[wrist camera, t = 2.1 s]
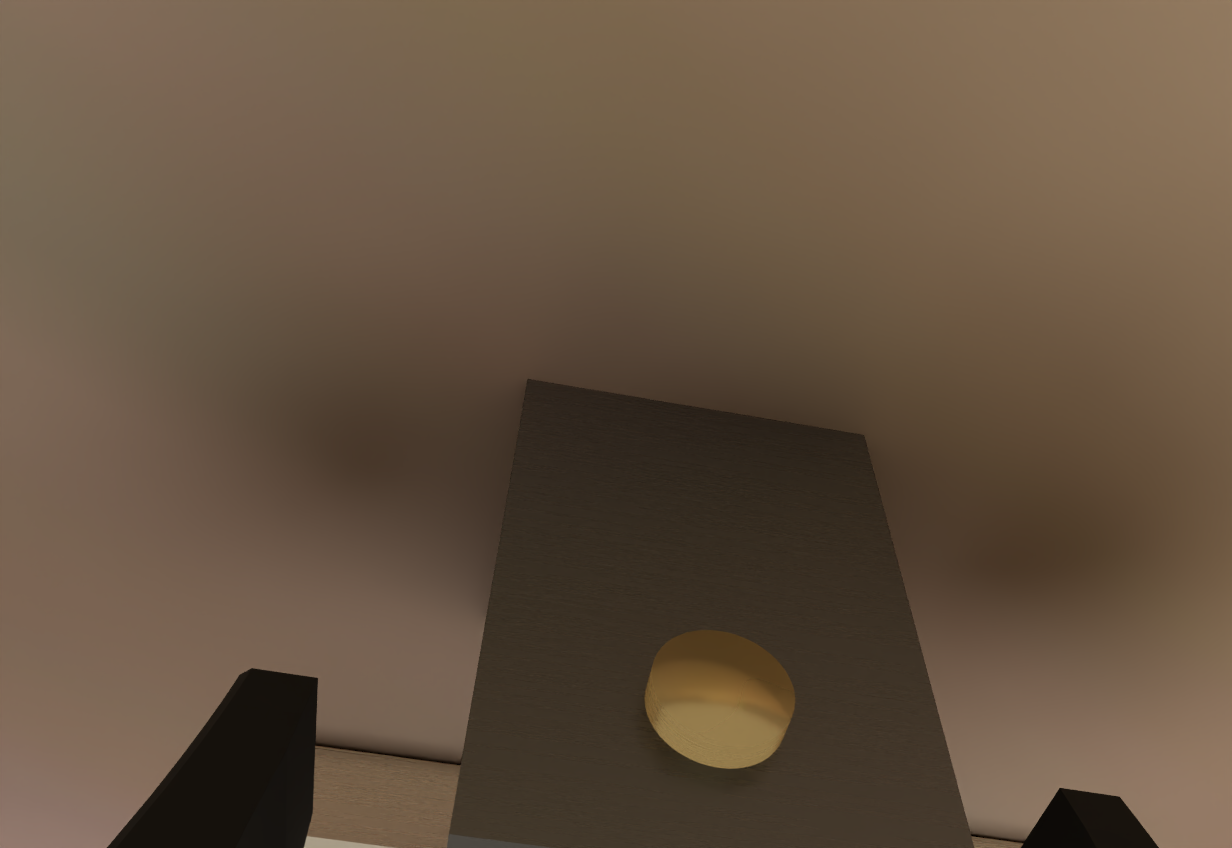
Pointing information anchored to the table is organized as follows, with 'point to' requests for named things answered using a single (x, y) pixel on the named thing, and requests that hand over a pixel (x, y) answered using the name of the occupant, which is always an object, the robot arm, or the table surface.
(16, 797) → the table surface
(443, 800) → the shaft fixture
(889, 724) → the block
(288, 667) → the table surface
